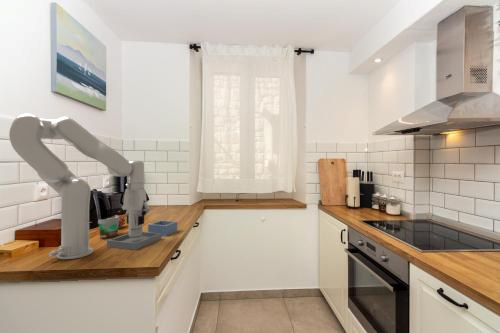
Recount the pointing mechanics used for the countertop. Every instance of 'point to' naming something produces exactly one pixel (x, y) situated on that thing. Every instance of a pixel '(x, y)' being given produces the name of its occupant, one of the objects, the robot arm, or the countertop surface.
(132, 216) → the energy drink can
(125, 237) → the tray
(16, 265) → the countertop surface
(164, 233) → the blue square box
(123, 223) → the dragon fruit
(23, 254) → the countertop surface
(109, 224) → the food container
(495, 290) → the countertop surface
